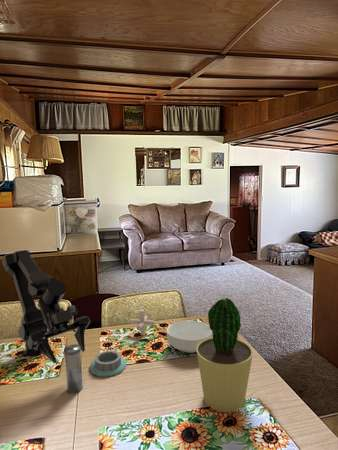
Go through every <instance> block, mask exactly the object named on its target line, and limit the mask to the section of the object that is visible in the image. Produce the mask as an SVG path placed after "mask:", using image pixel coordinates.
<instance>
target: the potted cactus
mask: <svg viewBox="0 0 338 450" xmlns="http://www.w3.org/2000/svg"><path fill="white" fill-rule="evenodd" d="M209 308H210V309H209V310H208V311H207V313H208V314H207V321H206V322H207V323H205V324H206V325H209V328H210V329H211V330H212V332H211V333H213V335H212V337H211V338H208V339H205V340H203V341H201V342H200V343H199V344H198V345H197V348H196V350H197V351H196V354H197V355H196V356H197V362H198V366H199V367H198V368H199V374H200V380H201V386H202V392H203V393H202V394H203V399H204V402H205V404H206V406H208V407H210V408H211V409H213V410H214V411H217V412H222V413H232V412H231V411H233V412H236V411H238V410H237V409H239V408H240V409H241V408H243V406H244V405H243V404H245V401H246V396H247V395H246V394H247V389H248V384H249V377H250V371H251V366H252V360H253V354H254V351H253V349H252V346H251V345H249V344H248V343H247V342H246V341H243V340H241V339H240V338H239V335H240V336H242V335H241V334H242V332H243V331H242V330H241V326H243V324H242V323H241V322H242V321H241V319H242V316H241V315H242V312H241V310H239V308H238V306H237V304H235V303H234V298H231V299H230V298H229V297H222V298H221V299H219V300H217V301H214V304H212V302H210V306H209ZM240 409H239V410H240ZM235 410H236V411H235Z"/></svg>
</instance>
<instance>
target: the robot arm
mask: <svg viewBox="0 0 338 450" xmlns="http://www.w3.org/2000/svg"><path fill="white" fill-rule="evenodd" d="M1 264H2V266H3V267H4V269H5V272H6V273H7V274H8V275H9V276H11V277H12V280H13V282H14V285H15V289H16V293H17V295H18V296H17V297H18V300H19V303H20V306H21V309H22V310H21V311H22V317H21V319H20V326H19V328H18V330H17V331H18V336H19V337H18V338H20V339H21V340H22V341H24V343H25V350H24V351H23V352H22V356H37V355H42V354H43V355H44V356H45V357H46V358H48V359H49V360H50V361H51V362H52V363H53V364H56V363H57V360H56V356H55V355H54V351H53V350H52V348H51V346H50V342H49V339H51V338H53V337H57V336H60V335H62V334H65V333H68V332H71V331H73V332H74V337H75V339H76V343H77V345H80V346H81V352H82V353H84V352H85V351H86V348H85V347H86V346H85V345H86V344H85V331H86V329H87V328H88V327H89V325H90V324H91V320H90V318H89V316H86V315H83V316H80V317H77V318H75V320H74V316H77V315H78V310H77V308H76V305H74V304H72V305H69V306H67V307H66V310H64V308H62V307H61V306H60V302H61V301H62V299H63V297H64V295H65V293H66V291H67V285H66V284H65V283H64V282H63V281H61V280H59V279H57V278H56V277H55V276H54V277H51V276H50V275H49V274H48V273H46V272H44V271H43V272H42V270H41V269H40V268H39V267H38V265H37V264H36V262H35V261H34V259H33V258H32V256H31V253H30V251H29V250H27V249H24V250H15V252H12V253H11V252H10V253H5V254H4V256H3V257H1ZM38 297H40V298H39V299H38V301H37V306H36V302H35V299H34V298H38ZM71 320H74V321H73V323H70V322H71Z"/></svg>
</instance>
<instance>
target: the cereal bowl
mask: <svg viewBox="0 0 338 450" xmlns="http://www.w3.org/2000/svg"><path fill="white" fill-rule="evenodd" d="M206 324H207V323H205V322H202V321H197V320H181V321H176V322H173V323H172V324H169V325H168V326H167V328H166V338H167V341H168V343H169V344H170V346H171V347H173V348H175V349H177V350H178V351H181V352H184V353H189V354H191V353H197V350H196V348H197V345H198V344H199V343H200V342H201V341H203V340H205V339H208V338H211V337H213V336H212V335H213V333H211V332H212V330H211V329H210V328H209V324H207V325H206Z"/></svg>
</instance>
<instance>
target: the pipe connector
mask: <svg viewBox="0 0 338 450" xmlns="http://www.w3.org/2000/svg"><path fill="white" fill-rule="evenodd" d="M148 318H149V317H148V315H145V309H140V310H139V319H137V318H136V319H134V318H130V320H129V324H131V325H137V326H136V329H137V330H138V331H140V335H141V336H144V335H146V325H147V326H155V324H156V321H155V320H151V319H148Z"/></svg>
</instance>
